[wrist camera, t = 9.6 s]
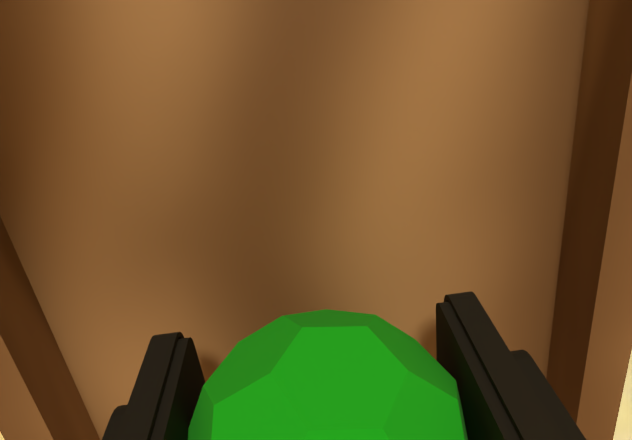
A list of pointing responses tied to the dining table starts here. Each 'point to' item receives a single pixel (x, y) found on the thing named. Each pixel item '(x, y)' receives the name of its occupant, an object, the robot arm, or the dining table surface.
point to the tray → (308, 185)
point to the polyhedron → (329, 385)
